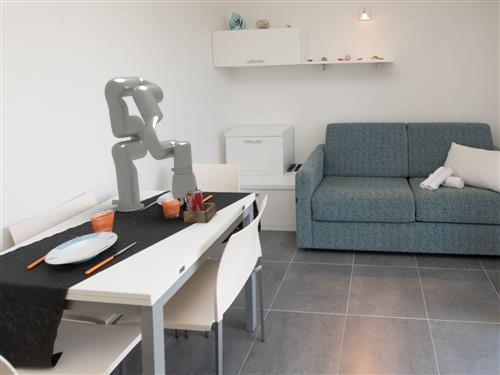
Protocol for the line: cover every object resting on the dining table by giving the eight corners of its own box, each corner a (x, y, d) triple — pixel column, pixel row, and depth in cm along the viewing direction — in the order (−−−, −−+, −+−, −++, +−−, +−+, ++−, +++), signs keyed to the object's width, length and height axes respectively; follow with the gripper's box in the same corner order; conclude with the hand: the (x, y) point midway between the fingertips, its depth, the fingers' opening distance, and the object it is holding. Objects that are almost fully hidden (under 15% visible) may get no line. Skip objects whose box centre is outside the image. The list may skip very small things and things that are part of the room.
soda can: (203, 220, 211) (202, 193, 209) (186, 221, 211) (185, 193, 208) (203, 215, 218) (202, 188, 215) (186, 216, 218) (185, 189, 215)
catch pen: (184, 222, 210) (183, 211, 209) (194, 212, 224) (193, 203, 223) (207, 222, 208) (206, 212, 207) (216, 213, 222) (215, 203, 221)
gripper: (163, 172, 211) (167, 214, 215) (197, 172, 208) (200, 215, 212) (169, 169, 218) (173, 210, 222) (203, 169, 215) (205, 210, 219)
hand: (186, 212), depth 217 cm, fingers closed
